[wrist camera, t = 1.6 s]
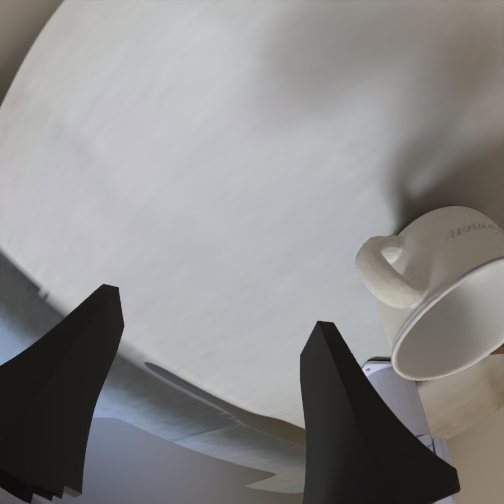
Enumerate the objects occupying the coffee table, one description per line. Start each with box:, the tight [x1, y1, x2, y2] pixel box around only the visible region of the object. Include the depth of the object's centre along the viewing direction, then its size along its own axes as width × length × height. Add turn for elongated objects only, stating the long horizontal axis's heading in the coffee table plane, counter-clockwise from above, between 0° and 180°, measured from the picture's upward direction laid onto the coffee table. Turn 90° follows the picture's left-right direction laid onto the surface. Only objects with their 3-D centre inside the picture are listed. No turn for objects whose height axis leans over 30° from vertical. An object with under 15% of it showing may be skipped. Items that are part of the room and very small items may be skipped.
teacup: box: [355, 206, 504, 381], centre depth 16 cm, size 14×11×8 cm
